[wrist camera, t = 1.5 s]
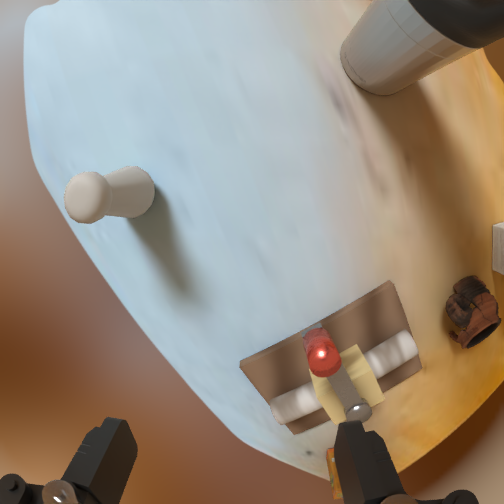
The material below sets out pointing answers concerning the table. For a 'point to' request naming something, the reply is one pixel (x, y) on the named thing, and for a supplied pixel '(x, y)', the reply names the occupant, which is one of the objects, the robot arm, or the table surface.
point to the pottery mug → (472, 311)
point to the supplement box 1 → (333, 475)
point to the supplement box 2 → (498, 248)
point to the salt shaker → (109, 194)
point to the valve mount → (352, 355)
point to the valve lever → (334, 371)
